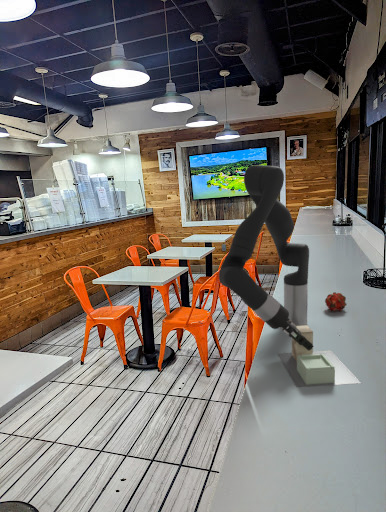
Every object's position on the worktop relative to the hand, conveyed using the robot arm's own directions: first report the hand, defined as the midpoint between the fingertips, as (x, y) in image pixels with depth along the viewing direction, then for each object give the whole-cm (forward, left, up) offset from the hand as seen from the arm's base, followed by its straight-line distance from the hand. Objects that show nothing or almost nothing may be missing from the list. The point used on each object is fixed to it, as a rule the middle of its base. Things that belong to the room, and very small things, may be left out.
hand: (307, 344), depth 109 cm
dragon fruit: (-43, +28, -6) cm, 52 cm away
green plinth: (+11, -2, -5) cm, 12 cm away
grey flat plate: (+6, 0, -6) cm, 8 cm away
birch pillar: (0, -2, -5) cm, 5 cm away
